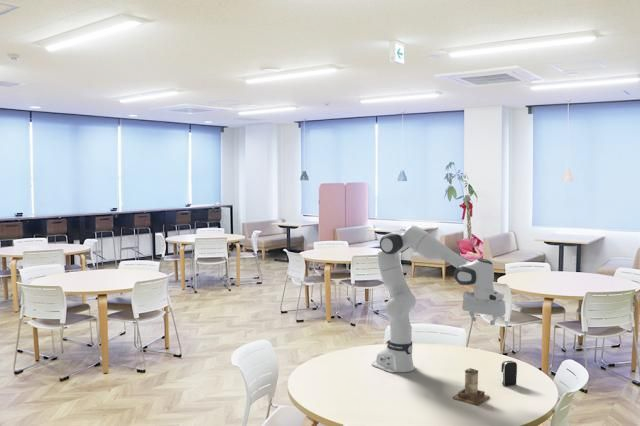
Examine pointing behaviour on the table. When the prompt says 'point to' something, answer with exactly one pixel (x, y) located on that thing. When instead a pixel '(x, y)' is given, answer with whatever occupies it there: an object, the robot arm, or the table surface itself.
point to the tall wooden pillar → (471, 382)
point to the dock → (471, 397)
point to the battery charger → (509, 373)
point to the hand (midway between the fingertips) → (483, 322)
